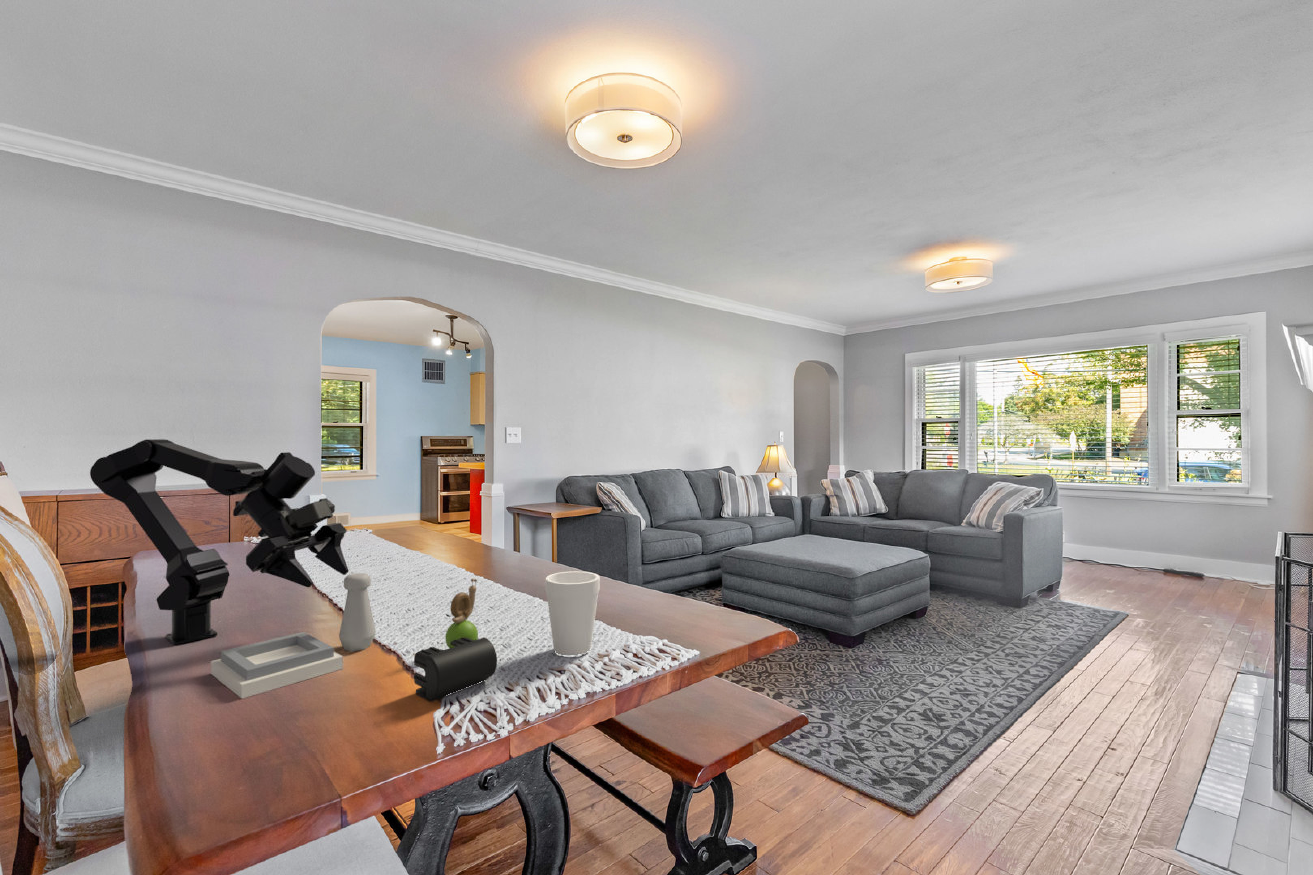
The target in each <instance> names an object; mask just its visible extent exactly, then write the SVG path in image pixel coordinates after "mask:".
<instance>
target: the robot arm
mask: <svg viewBox="0 0 1313 875" xmlns="http://www.w3.org/2000/svg"><path fill="white" fill-rule="evenodd" d="M163 467H166V468H169V469H172V470H175V471H178V472H181V473H184V474H185V475H189V476H192V477H194V478H195V477H196V478H198V479H201V480H202V481H204V482H205V483H206V485H207V487H208V488H210V489H211V490H213V491H215V492H217V493H218V494H220V495H222V496H224V497H225V496H227V497H229V496H239V495H245V496H244V498H242V500H236V501H235V502H234V504H235V505H234V508H233V511H232V515H233V517H240V516H247V515H248V516H249V517H250V518H251V519H252V521H254V523H255V524H256V525H257V526H258V527H259V528H260V530H259V531H258V532H257V535H258V536H259V537H260V538H262V539H261V540H260V541H259V542H258V543H256V545H255V546H254V547H253V548H252V549H251V550H250V552H248V554H247V555H246V556H245V565H246V566H247V567H248V568H249V570H251V572H252V573H254V572H255V573H256V572H260V573H261V574H268V575H271V576H274V577H278V578H280V579H284V580H287V581H290V582H292V583H295V584H297V585H299V586H303V587H305V588H310V587H312V586H313V584H314V582H313V580H312V578H311V576H310V575H309V574H308V573H307V571H306V570H305V569H304V567H303V566H302V565H301V563H300V562H299V560H298V559H297V558H296V551H301V550H305V549H308V550H309V551H310V552H311V553H313V554H316V555H315V556H314V557H315V558H316V559H318V560H319V561H321V562H322V563H323V564H325V565H327V566H328V567H330V568H331V569H333V570H335V571H336V572H338V573H339V574H341V575H343V576H345V575H348V572H349V567H348V565H347V564H348V563H347V562H346V559H345V556H344V553H343V550H342V547H341V546H342V544H341V543H342V540H343V539H344V537H345V534H346V533H347V528H345V526H344V525H343V524H342V523H341V522H334V523H329V524H328V523H327V524H324V525H322V526H321V527H320V528H319V529H318V530H317V528H318V527H319V526H318V523H320V522H323V521H324V520H327V519H331V518H333V517H334V515H333V514H334V513H335V510H336V509H335V508H336V506H335V504H334V503H333V502H331V500H329V499H328V498H327V497H325V498H320V499H318V500H317V501H314V502H309V503H308V504H306V505H303V506H302V507H300V508H298V507H295V508H292V507H291V506H289V505H288V504H289V503H287V502H286V501H285V500H284V499H289V500H291V499H294V498H295V497H296V496H297V495H298V494H299V493H300V492H301V490H303V488H304V487H305V486H306V485H307V484H308V483H309V482H310V481H311V480H312V478H314V476H315V475H316V471H315V469H314V467H313V466H312V464H311V463H309V462H306V461H305V460H304V459H302V458H300V457H298V456H294V455H293V454H292V453H291V452H289V451H288V452H280V453H279V454H278V456H277V457H276V458H275V460H274V462H272V463H271V464H270V466H269V467H268V468H267V469H265V468H264V466H263V465H261V464H260V463H258V462H252V461H245V460H235V459H234V460H233V459H223V458H218V457H216V456H213V455H210V454H207V453H204V452H201V451H198V450H195V449H193V448H189V447H186V446H183V445H179V444H176V443H174V442H173V441H171V440H169V439H165V438H164V439H162V438H160V439H155V438H154V439H151V438H150V439H144V440H141V441H138V442H137V443H135V444H133V445H132V446H130V447H126V448H125V449H121V450H118V451H116V452H112V453H110V454H108V455H106V456H102V457H100V458H98V459H96V461H95V462H94V463H93V465H92V466H91V467H90V472H89V476H90V479H91V481H92V483H93V484H94V485H95V486H96V487H97V488H98V489H99V490H100V491H101V492H102V493H103V494H105V495H106V496H108V497H110V498H112V499H115V500H117V502H118V501H119V502H121V503H123V504H124V506H125V507H126V508H127V509H128V511H129V512H130V514H131V515H132V516H133V517H134V519H135V520H136V522H137V523H138V524H139V526H140V527H141V528H142V530H143V531H144V533H145V534H146V535H147V537H148V538H149V540H150V541H151V543H152V544H153V546H154V547H155V548H156V550H158V552H159V554H160V555H161V556H162V558H163V559H164V561H165V563H166V573H165V580H166V581H167V584H168V586H167V587H166V588H165V589H164V590H163V591H162V592H161V593H160V594H159V595H158V597H156V603H157V606H158V609H159V610H161V611H171V633H166V634H165V638H166V639H167V641H169V642H170V643H172V644H173V645H181V644H184V643H190V642H193V641H198V640H202V639H208V638H212V637H216V636H218V632H217V631H216V630H214V629H213V628H211V627H212V626H211V623H212V620H211V619H212V612H211V611H212V610H211V609H212V601H215V600H220V599H222V598H223V596H224V593H225V588H226V587H227V585H228V581H229V577H230V570H228V567H227V566H228V565H229V564H228V563H227V562H225V561H224V559H223V558H222V557H221V555H220V553H219V552H218V550H216V549H215V548H212V549H206V550H203V549H200V548H199V547H198V546H197V545H196V544H195V543H194V541H193V540H192V539H191V537H190V535H188V533H187V532H186V530H185V529H184V528H183V525H181V523H180V522H179V520H178V519H177V518H176V516H175V515H174V514H173V513H172V511H171V510H170V508H169V507H168V506H167V504H166V503H165V501H164V500H163V499H162V497H161V496H160V495H159V493H158V492H157V491H156V483H157V475H156V473H157V472H159V471H160V470H162V469H163ZM246 494H247V495H246ZM315 530H317V531H316V532H315V533H314V534H312V533H313V532H314V531H315Z"/></svg>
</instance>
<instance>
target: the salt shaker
mask: <svg viewBox="0 0 1313 875" xmlns="http://www.w3.org/2000/svg"><path fill="white" fill-rule="evenodd" d="M371 582H372V579H371V576H370V575H369V574H368V573H363V572H357V573H352V574H347V576H346V577H344V578H343V587H344V589H345V590H347V592H346V593H347V594H346V600H345V605H344V609H343V613H342V614H343V615H342V619H341V624H340V630H339V634H338V636H339V641H340V643H341V646H342V647H343V650H344V651H347V652H357V651H363V650H366V649H367V648H369V647H371V645H372V642H373V641H374V638H375V636H376V632H377V631H376V626H375V621H374V617H373V612H372V606H371V601H370V596H369V592H368V587H370V586H371V584H372V583H371Z"/></svg>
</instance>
